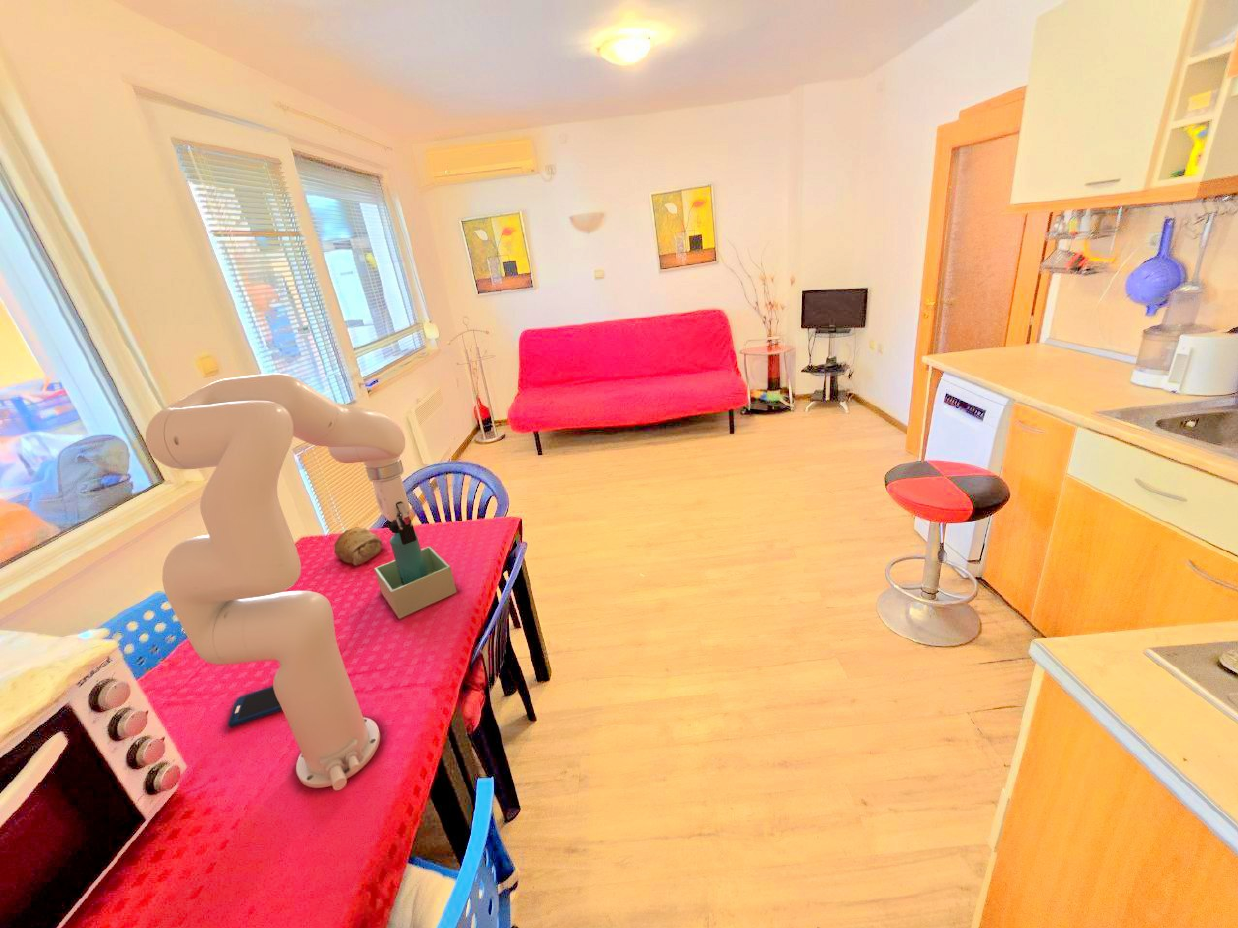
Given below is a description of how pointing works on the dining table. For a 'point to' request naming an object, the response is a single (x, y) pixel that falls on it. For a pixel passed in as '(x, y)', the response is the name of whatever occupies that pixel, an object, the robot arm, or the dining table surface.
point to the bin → (416, 584)
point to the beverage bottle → (407, 557)
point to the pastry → (357, 546)
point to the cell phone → (254, 706)
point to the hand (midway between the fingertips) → (402, 535)
